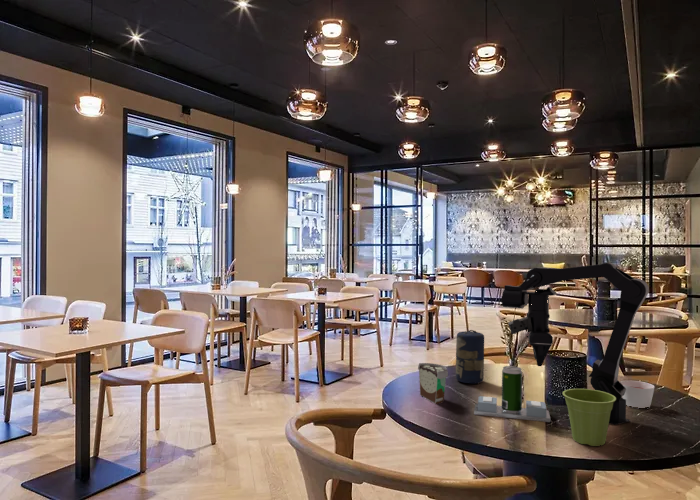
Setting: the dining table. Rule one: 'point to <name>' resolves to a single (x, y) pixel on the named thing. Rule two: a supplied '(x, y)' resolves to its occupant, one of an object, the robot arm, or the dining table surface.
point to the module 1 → (487, 404)
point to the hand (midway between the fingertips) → (538, 362)
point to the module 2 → (535, 408)
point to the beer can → (511, 389)
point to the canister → (470, 357)
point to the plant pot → (589, 414)
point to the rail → (512, 414)
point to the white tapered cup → (638, 393)
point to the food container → (432, 381)
